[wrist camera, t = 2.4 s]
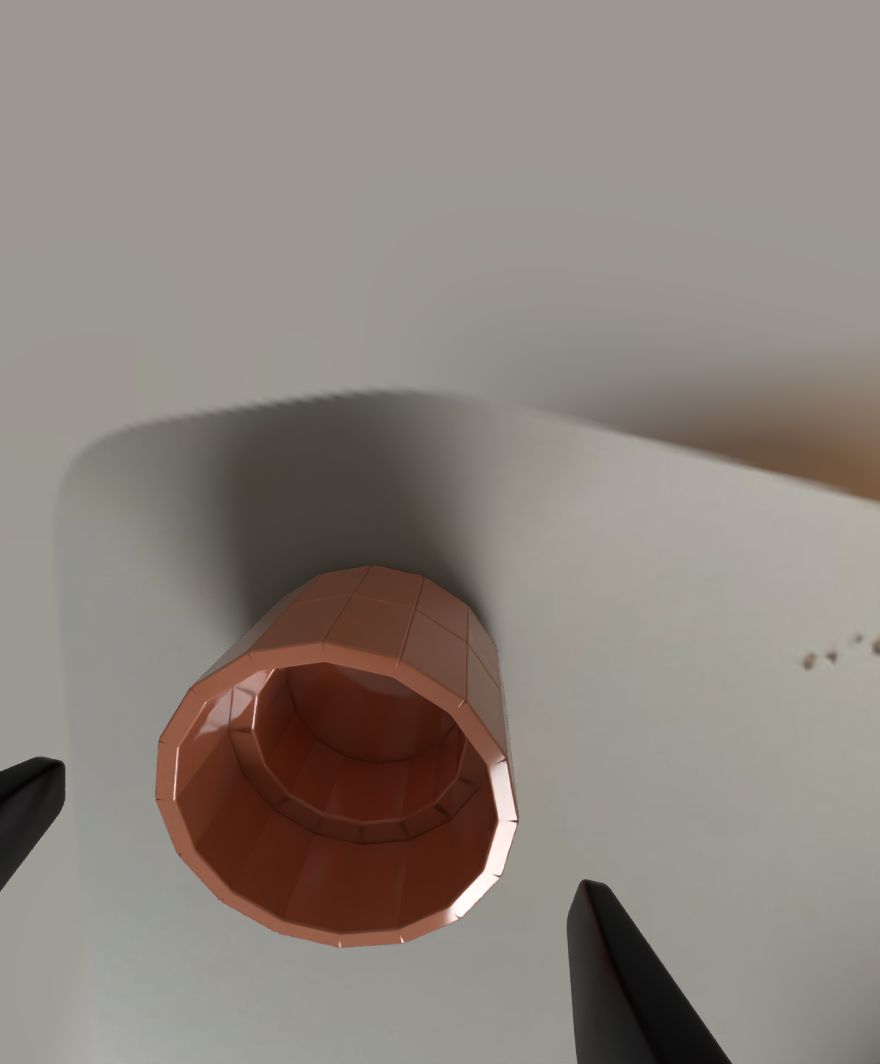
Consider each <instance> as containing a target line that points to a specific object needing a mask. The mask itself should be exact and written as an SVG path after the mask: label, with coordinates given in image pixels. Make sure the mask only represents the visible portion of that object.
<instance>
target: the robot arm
mask: <svg viewBox="0 0 880 1064" xmlns="http://www.w3.org/2000/svg"><path fill="white" fill-rule="evenodd" d="M64 801H65V765H64V763H63V762H62V761H60V760H56V759H51V758H47V757H35V758H32V759H29V760H27V761H25V762H22V763H20V764H17V765H15V766H13V767H10V768H8V769H5V770H3V771H0V891H1V890H2V889H3V887H4V886H5V885H6V883H7V882H8V881H9V879H10V878H11V877H12V875H13V874H14V873H15V871H16V870H17V868H18V867H19V866H20V865H21V863H22V862H23V860H25V858H26V857H27V856H28V854H29V853H30V851H31V850H32V849H33V848H34V846H35V845H36V844H37V842H38V841H39V840H40V838H41V837H42V836H43V835H44V833H45V832H46V831H47V829H48V828H49V827H50V825H51V824H52V823H53V821H54V820H55V819H56V817H57V816H58V815H59V813H60V811H61V809H62V807H63V805H64ZM567 940H568V953H569V967H570V981H571V994H572V1008H573V1022H574V1034H575V1045H576V1055H577V1062H578V1064H732V1063H731V1061H730V1060H729V1059H728V1057H727V1056H726V1054H725V1053H724V1051H723V1050H722V1048H721V1047H720V1046H719V1044H718V1043H717V1041H716V1040H715V1038H714V1037H713V1036H712V1034H711V1033H710V1031H709V1030H708V1028H707V1027H706V1025H705V1024H704V1023H703V1021H702V1020H701V1018H700V1017H699V1015H698V1014H697V1013H696V1011H695V1010H694V1008H693V1007H692V1005H691V1004H690V1002H689V1001H688V1000H687V998H686V997H685V995H684V994H683V992H682V991H681V990H680V988H679V987H678V985H677V984H676V982H675V981H674V980H673V978H672V977H671V975H670V974H669V972H668V971H667V969H666V968H665V967H664V965H663V964H662V962H661V961H660V959H659V958H658V957H657V955H656V954H655V952H654V951H653V949H652V948H651V946H650V945H649V944H648V942H647V941H646V939H645V938H644V936H643V935H642V934H641V932H640V931H639V929H638V928H637V926H636V925H635V923H634V922H633V921H632V919H631V918H630V916H629V915H628V913H627V912H626V911H625V909H624V908H623V906H622V905H621V903H620V902H619V901H618V899H617V898H616V896H615V895H614V893H613V892H612V890H611V889H610V888H609V887H608V886H607V885H606V884H604V883H600V882H596V881H592V880H587V879H584V880H582V881H581V882H580V884H579V886H578V889H577V891H576V894H575V897H574V900H573V902H572V905H571V908H570V910H569V913H568V918H567Z"/></svg>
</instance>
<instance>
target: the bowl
mask: <svg viewBox="0 0 880 1064" xmlns="http://www.w3.org/2000/svg"><path fill="white" fill-rule="evenodd" d="M155 797H156V802H157V805H158V807H159V810H160V812H161V815H162V817H163V820H164V823H165V825H166V828H167V830H168V833H169V835H170V838H171V840H172V843H173V845H174V848H175V850H176V853H177V854H178V855H179V857H180V858H181V859H182V860H183V861H184V863H185V864H186V865H187V866H188V867H189V868H190V869H191V870H192V871H193V872H194V873H195V875H196V876H197V877H198V878H199V879H200V880H201V881H202V882H203V883H204V884H205V885H206V886H207V888H208V889H209V890H210V891H211V892H212V893H213V894H214V895H215V896H216V897H217V898H218V900H221V902H222V903H224V904H226V905H228V906H229V907H231V908H233V909H235V910H236V911H238V912H240V913H242V914H244V915H245V916H247V917H249V918H251V919H252V920H254V921H256V922H258V923H259V924H261V925H263V926H265V927H267V928H268V929H270V930H272V931H274V932H278V933H279V934H282V935H286V936H291V937H295V938H299V939H304V940H308V941H313V942H317V943H321V944H326V945H330V946H334V947H340V946H341V947H342V948H347V947H361V946H375V945H388V944H402V943H404V942H409V941H411V940H414V939H416V938H418V937H420V936H423V935H425V934H427V933H430V932H432V931H434V930H437V929H439V928H441V927H444V926H446V925H448V924H451V923H453V922H455V921H458V920H459V919H460V918H462V917H463V916H464V915H465V914H466V913H467V912H468V911H469V910H470V909H471V908H472V907H473V906H474V905H475V904H476V903H477V902H478V901H479V900H480V899H481V898H482V897H483V896H484V894H485V893H486V892H487V891H488V890H489V889H490V888H491V887H492V886H493V885H494V884H495V883H496V882H497V881H498V880H499V879H500V877H501V875H502V874H503V871H504V868H505V864H506V861H507V858H508V855H509V851H510V848H511V845H512V842H513V839H514V835H515V832H516V829H517V826H518V823H519V812H518V803H517V794H516V786H515V777H514V769H513V760H512V751H511V743H510V735H509V726H508V717H507V709H506V700H505V691H504V686H503V680H502V674H501V669H500V663H499V657H498V652H497V649H496V645H495V644H494V642H493V641H492V639H491V638H490V636H489V635H488V633H487V632H486V630H485V629H484V627H483V626H482V625H481V623H480V622H479V620H478V619H477V617H476V616H475V614H474V613H473V611H472V610H471V608H470V607H469V606H467V605H466V604H465V603H464V602H462V601H461V600H459V599H458V598H456V597H455V596H453V595H452V594H450V593H449V592H447V591H446V590H444V589H443V588H441V587H440V586H438V585H437V584H435V583H434V582H432V581H431V580H429V579H428V578H424V576H422V575H417V574H413V573H408V572H404V571H399V570H394V569H390V568H385V567H381V566H376V565H372V567H371V566H363V567H357V568H351V569H344V570H338V571H332V572H326V573H323V574H321V575H317V576H315V577H314V578H312V579H311V580H309V581H308V582H306V583H304V584H303V585H301V586H300V587H298V588H297V589H295V590H293V591H292V592H290V593H289V594H287V595H286V596H284V597H282V598H281V599H280V600H279V601H278V602H277V603H276V604H275V605H274V606H273V607H272V608H271V609H270V610H269V611H268V612H267V613H266V614H265V615H264V616H263V617H262V618H261V619H260V620H259V621H258V622H257V623H256V624H255V625H254V626H253V627H252V628H251V629H250V630H249V631H248V632H247V633H246V634H244V635H243V636H242V637H241V638H240V639H239V640H238V641H237V642H236V643H235V644H234V645H233V646H232V647H231V648H230V649H229V650H228V651H227V652H226V653H225V654H224V655H223V656H222V657H221V658H220V659H219V660H218V661H217V662H216V663H215V664H214V665H213V666H211V667H210V668H209V669H208V670H207V671H206V672H205V673H204V674H203V675H202V676H201V677H200V678H199V679H198V680H197V681H196V682H195V683H194V684H193V685H192V686H191V687H190V688H189V690H188V691H187V693H186V695H185V696H184V698H183V700H182V701H181V703H180V705H179V706H178V708H177V710H176V711H175V713H174V714H173V716H172V718H171V719H170V721H169V723H168V724H167V726H166V728H165V729H164V731H163V733H162V734H161V736H160V740H159V742H158V757H157V773H156V790H155Z"/></svg>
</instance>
